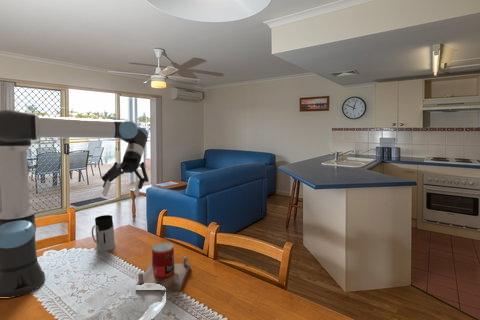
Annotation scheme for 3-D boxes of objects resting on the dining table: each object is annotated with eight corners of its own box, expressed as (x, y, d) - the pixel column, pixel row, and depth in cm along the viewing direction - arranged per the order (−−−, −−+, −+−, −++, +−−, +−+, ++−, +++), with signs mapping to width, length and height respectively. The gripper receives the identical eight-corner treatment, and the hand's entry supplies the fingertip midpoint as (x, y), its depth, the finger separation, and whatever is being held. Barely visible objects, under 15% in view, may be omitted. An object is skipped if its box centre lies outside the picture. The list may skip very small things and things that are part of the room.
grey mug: (119, 243, 139) (117, 214, 138) (103, 256, 125) (101, 224, 124) (102, 243, 140) (100, 214, 138) (84, 256, 126) (82, 224, 124)
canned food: (169, 280, 102) (167, 251, 101) (149, 278, 104) (147, 249, 102) (178, 269, 109) (176, 242, 108) (159, 267, 111) (158, 241, 110)
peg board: (135, 290, 99) (134, 276, 99) (152, 267, 115) (151, 255, 114) (179, 291, 98) (179, 276, 98) (190, 268, 114) (189, 255, 114)
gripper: (161, 160, 132) (151, 199, 119) (110, 160, 134) (95, 199, 121) (157, 150, 126) (146, 190, 113) (103, 150, 128) (86, 190, 115)
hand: (119, 194), depth 117 cm, fingers open, 13 cm apart
